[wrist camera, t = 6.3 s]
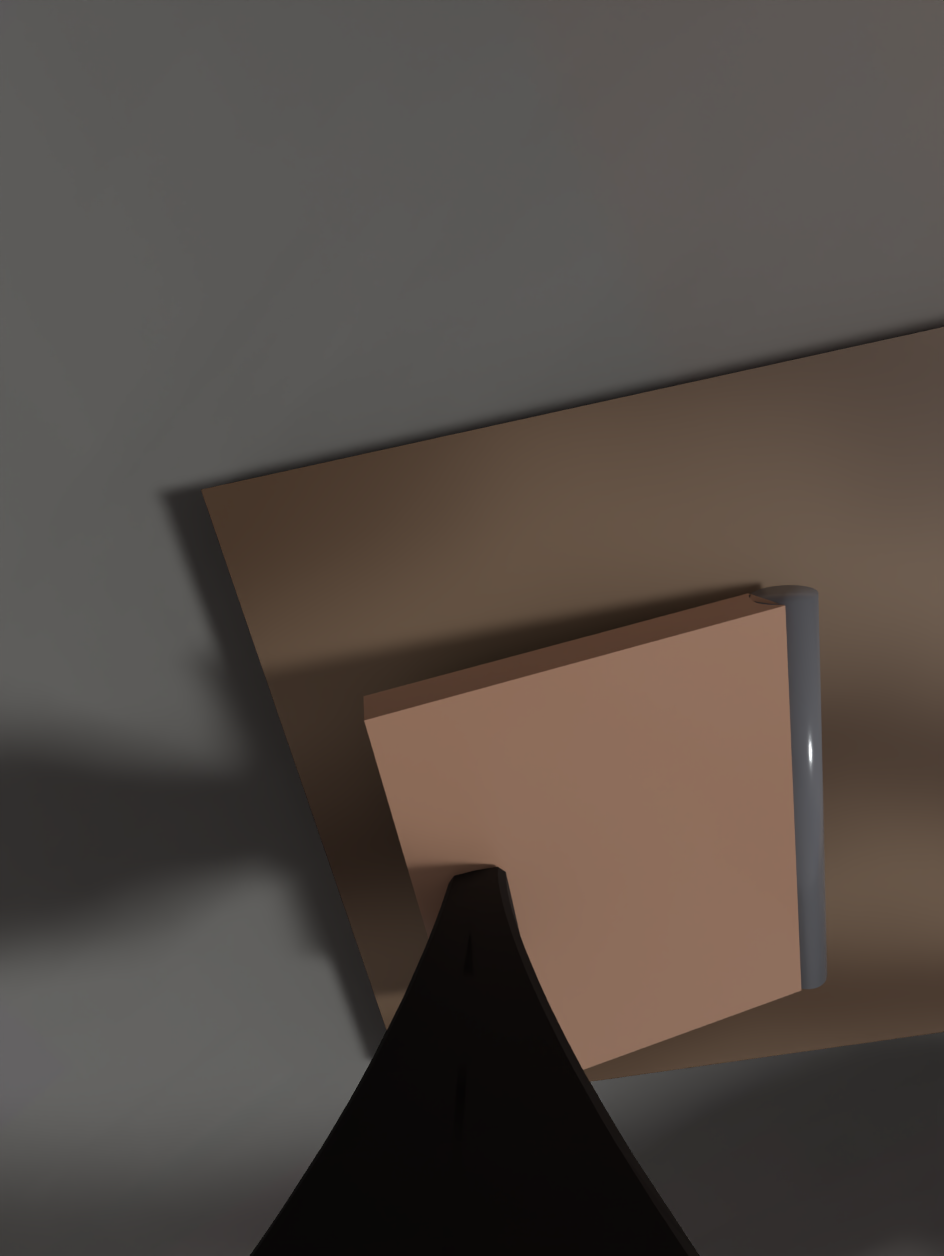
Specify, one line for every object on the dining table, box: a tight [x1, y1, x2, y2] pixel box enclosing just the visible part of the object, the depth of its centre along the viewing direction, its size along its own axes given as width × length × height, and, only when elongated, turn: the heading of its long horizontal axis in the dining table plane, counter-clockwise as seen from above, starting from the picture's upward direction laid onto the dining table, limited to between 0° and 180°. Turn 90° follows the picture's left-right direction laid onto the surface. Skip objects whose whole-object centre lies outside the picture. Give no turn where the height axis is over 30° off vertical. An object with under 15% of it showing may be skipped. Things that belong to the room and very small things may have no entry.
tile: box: [363, 585, 827, 1070], centre depth 10 cm, size 8×7×1 cm
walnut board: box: [201, 327, 944, 1081], centre depth 12 cm, size 15×18×1 cm
